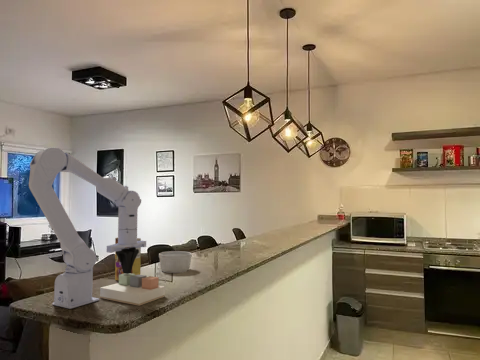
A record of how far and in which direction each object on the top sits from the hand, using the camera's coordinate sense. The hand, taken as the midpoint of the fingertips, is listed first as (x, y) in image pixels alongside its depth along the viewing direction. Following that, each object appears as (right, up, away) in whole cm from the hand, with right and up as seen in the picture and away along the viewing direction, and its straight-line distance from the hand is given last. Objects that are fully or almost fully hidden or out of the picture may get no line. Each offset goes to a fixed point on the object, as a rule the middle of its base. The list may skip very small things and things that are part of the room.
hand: (127, 273), depth 112 cm
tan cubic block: (+8, -4, -5) cm, 10 cm away
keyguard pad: (+3, -6, -5) cm, 8 cm away
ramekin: (+9, -8, +35) cm, 37 cm away
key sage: (0, -4, 0) cm, 4 cm away
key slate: (+4, -4, -3) cm, 6 cm away
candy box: (-5, -7, +17) cm, 19 cm away
